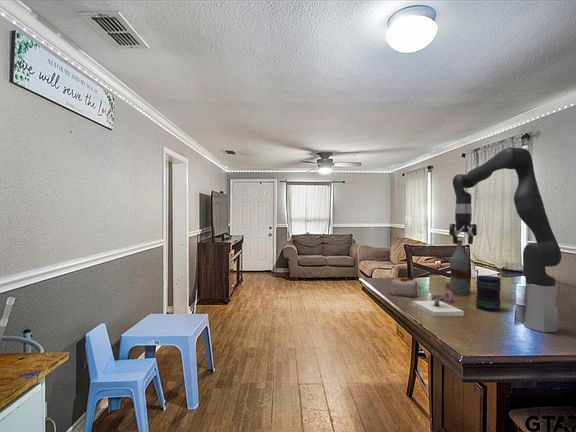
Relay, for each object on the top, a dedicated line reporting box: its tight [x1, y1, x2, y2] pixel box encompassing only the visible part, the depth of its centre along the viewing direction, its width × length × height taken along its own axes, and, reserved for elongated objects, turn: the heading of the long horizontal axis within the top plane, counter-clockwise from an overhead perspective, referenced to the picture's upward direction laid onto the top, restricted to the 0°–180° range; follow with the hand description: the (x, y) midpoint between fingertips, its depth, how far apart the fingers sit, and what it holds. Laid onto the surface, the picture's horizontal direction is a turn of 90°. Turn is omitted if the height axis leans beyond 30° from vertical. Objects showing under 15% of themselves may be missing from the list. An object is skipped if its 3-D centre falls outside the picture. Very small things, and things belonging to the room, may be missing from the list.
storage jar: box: [475, 275, 502, 313], centre depth 156 cm, size 10×10×15 cm
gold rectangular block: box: [428, 274, 447, 296], centre depth 152 cm, size 5×5×8 cm
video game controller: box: [431, 288, 455, 304], centre depth 171 cm, size 10×5×7 cm, turn 47°
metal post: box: [433, 295, 440, 307], centre depth 152 cm, size 2×2×7 cm
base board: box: [411, 300, 465, 318], centre depth 152 cm, size 18×14×2 cm
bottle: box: [448, 239, 469, 296], centre depth 187 cm, size 9×9×30 cm
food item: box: [390, 276, 418, 298], centre depth 180 cm, size 14×8×10 cm, turn 69°
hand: (462, 243), depth 173 cm, fingers open, 8 cm apart
